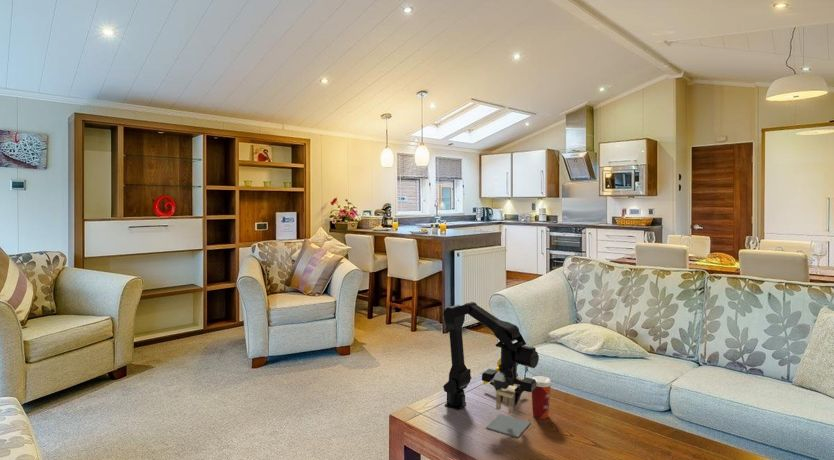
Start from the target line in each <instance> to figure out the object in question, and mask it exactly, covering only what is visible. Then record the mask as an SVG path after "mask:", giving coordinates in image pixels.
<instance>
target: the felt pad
mask: <svg viewBox="0 0 834 460" xmlns="http://www.w3.org/2000/svg"><path fill="white" fill-rule="evenodd" d="M530 425H531V422H530V421H527V420H523V419H519V418H516V417H512V416H509V415H506V414H501V413H499V414H498V415H497V416H496V417H495V418H494V419H493V420H492V421H490V422H489V423H488V424H487V425H486V426H485V428H486V429H488V430H491V431H494V432H498V433H501V434H504V435H507V436H511V437H514V438H516V439H517V438H518V439H519V437H520V436H521V435H522V434H523V433H524V431H525V430H526V429H527V428H528V427H529V426H530Z"/></svg>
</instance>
